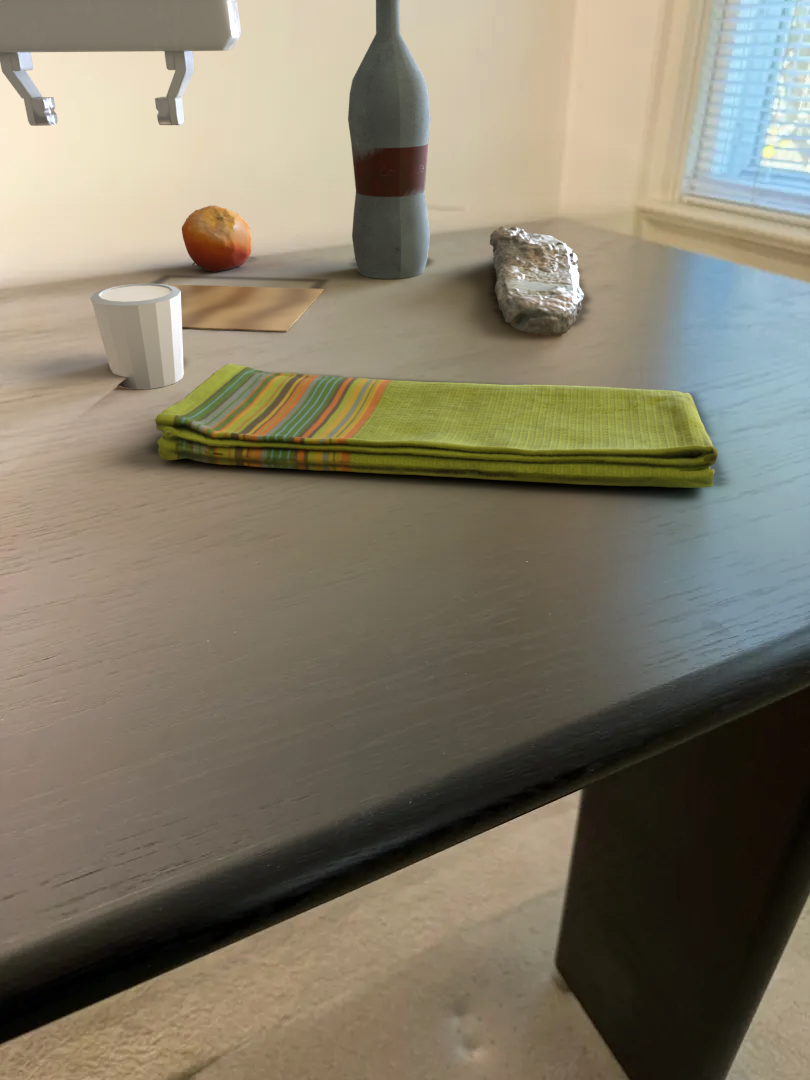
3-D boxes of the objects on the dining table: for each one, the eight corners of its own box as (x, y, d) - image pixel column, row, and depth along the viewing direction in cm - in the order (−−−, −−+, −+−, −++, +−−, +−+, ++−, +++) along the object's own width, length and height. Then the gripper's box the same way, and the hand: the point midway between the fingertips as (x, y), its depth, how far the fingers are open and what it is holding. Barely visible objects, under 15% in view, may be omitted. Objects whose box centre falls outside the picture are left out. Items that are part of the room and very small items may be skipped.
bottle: (356, 262, 110) (347, -24, 95) (430, 262, 110) (432, -25, 95) (349, 280, 102) (338, -29, 87) (429, 280, 102) (431, -30, 87)
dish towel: (229, 386, 71) (224, 346, 70) (686, 407, 67) (693, 366, 65) (153, 465, 58) (145, 419, 57) (716, 500, 53) (725, 450, 52)
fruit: (223, 243, 113) (234, 190, 107) (253, 285, 111) (266, 233, 104) (165, 252, 109) (173, 197, 103) (195, 296, 106) (205, 243, 100)
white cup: (127, 398, 69) (112, 308, 66) (92, 375, 74) (76, 291, 70) (206, 379, 73) (195, 293, 69) (168, 358, 78) (156, 277, 74)
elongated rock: (484, 351, 83) (591, 359, 82) (489, 295, 80) (600, 303, 80) (487, 250, 112) (566, 256, 112) (491, 207, 109) (572, 212, 109)
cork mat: (107, 325, 87) (107, 324, 87) (168, 285, 100) (168, 284, 100) (286, 332, 84) (286, 330, 84) (323, 290, 98) (323, 288, 98)
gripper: (240, -107, 59) (258, 120, 66) (-56, -102, 61) (-8, 121, 67) (217, -121, 54) (240, 128, 61) (-108, -116, 55) (-50, 129, 62)
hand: (107, 125), depth 64 cm, fingers open, 8 cm apart
